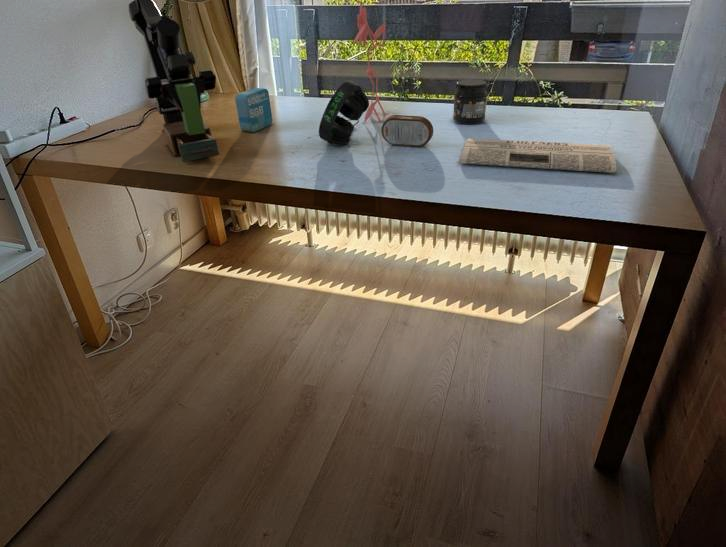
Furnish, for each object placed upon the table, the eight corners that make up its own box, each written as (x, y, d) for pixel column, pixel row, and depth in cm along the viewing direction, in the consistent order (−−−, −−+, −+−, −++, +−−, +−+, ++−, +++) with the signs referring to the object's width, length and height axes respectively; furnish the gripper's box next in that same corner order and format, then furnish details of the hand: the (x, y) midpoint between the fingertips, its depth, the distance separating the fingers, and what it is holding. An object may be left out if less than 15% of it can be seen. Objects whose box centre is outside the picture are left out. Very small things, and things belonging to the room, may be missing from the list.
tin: (433, 145, 143) (434, 115, 138) (430, 148, 140) (431, 118, 136) (383, 142, 147) (383, 113, 143) (380, 145, 145) (379, 116, 140)
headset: (351, 159, 161) (332, 142, 132) (316, 138, 162) (289, 118, 134) (379, 110, 158) (365, 82, 130) (343, 89, 160) (322, 58, 131)
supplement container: (457, 115, 169) (460, 78, 162) (488, 117, 165) (491, 80, 158) (448, 123, 161) (450, 85, 154) (480, 126, 157) (483, 86, 150)
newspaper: (459, 166, 127) (460, 155, 126) (468, 143, 143) (469, 133, 141) (614, 175, 117) (617, 164, 116) (606, 149, 133) (608, 139, 131)
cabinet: (214, 149, 149) (209, 128, 145) (175, 156, 144) (170, 134, 141) (204, 138, 159) (199, 118, 155) (167, 144, 155) (162, 124, 151)
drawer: (222, 158, 138) (219, 142, 136) (185, 166, 134) (181, 149, 132) (209, 144, 150) (205, 128, 148) (175, 150, 147) (171, 134, 144)
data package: (251, 133, 161) (245, 95, 155) (240, 132, 163) (234, 94, 157) (273, 123, 170) (268, 87, 163) (262, 122, 172) (257, 86, 165)
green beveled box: (185, 131, 141) (174, 84, 134) (201, 129, 143) (191, 82, 136) (189, 135, 138) (178, 87, 131) (205, 132, 140) (195, 84, 133)
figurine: (391, 108, 181) (389, 0, 162) (378, 128, 159) (375, 6, 141) (350, 108, 184) (344, 1, 165) (333, 127, 162) (323, 8, 144)
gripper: (135, 45, 127) (154, 97, 125) (206, 38, 135) (226, 86, 132) (139, 73, 137) (157, 121, 135) (205, 65, 145) (223, 110, 142)
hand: (191, 109), depth 136 cm, fingers closed on green beveled box, 4 cm apart
